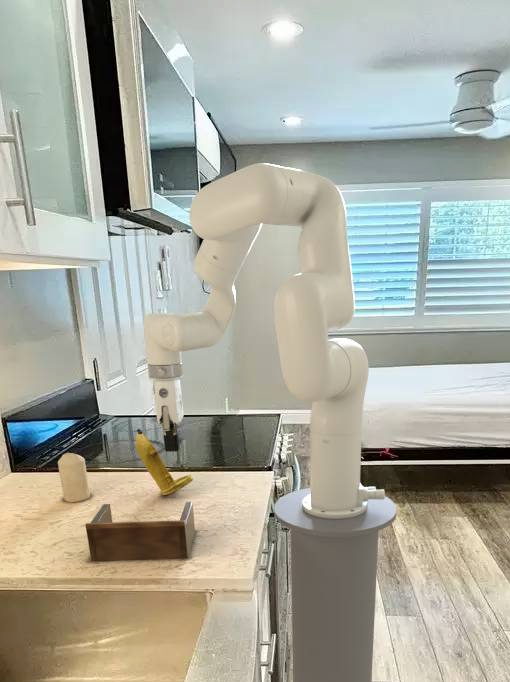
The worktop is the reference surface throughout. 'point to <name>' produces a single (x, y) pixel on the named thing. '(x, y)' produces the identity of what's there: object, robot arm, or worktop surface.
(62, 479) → the candle
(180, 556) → the wooden u-shaped stand
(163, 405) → the robot arm
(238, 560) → the worktop surface
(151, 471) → the ripe yellow banana
